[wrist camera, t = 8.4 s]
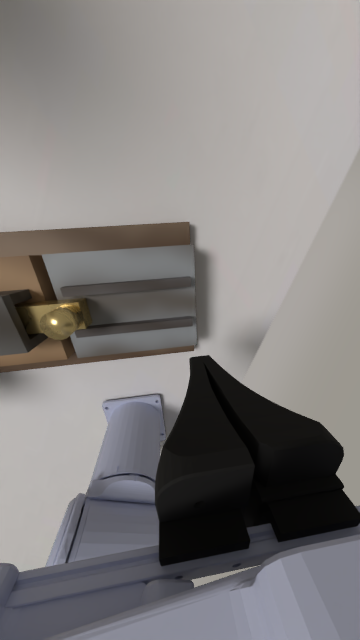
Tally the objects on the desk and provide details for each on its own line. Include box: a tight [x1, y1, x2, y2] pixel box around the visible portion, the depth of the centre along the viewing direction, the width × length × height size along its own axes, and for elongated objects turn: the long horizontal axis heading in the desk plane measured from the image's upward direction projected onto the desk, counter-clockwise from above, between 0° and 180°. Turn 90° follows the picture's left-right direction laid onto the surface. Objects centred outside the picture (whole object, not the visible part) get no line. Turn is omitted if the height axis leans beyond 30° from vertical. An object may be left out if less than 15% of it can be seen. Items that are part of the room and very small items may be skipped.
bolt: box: [14, 298, 92, 340], centre depth 14 cm, size 2×8×4 cm, turn 94°
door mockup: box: [0, 222, 197, 373], centre depth 16 cm, size 14×26×6 cm, turn 94°
